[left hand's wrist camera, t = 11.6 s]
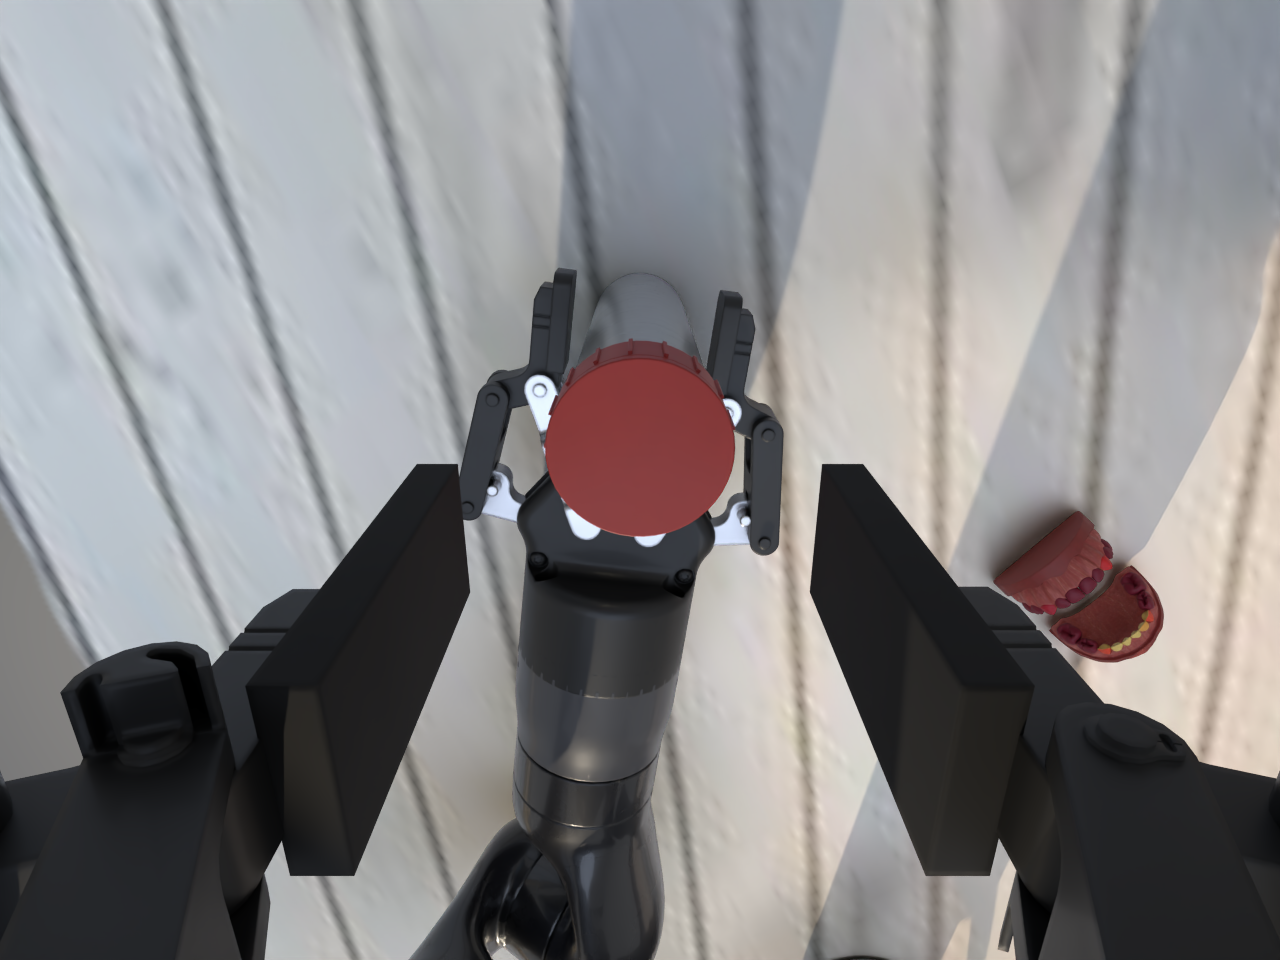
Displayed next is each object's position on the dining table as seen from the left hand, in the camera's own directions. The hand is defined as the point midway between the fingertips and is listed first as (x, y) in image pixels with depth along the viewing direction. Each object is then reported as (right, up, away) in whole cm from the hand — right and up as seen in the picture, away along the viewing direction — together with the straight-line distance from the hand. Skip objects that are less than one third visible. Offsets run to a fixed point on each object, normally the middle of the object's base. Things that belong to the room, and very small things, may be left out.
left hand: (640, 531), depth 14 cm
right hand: (0, +8, +14) cm, 17 cm away
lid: (0, +2, +4) cm, 5 cm away
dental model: (+23, -4, +26) cm, 35 cm away
